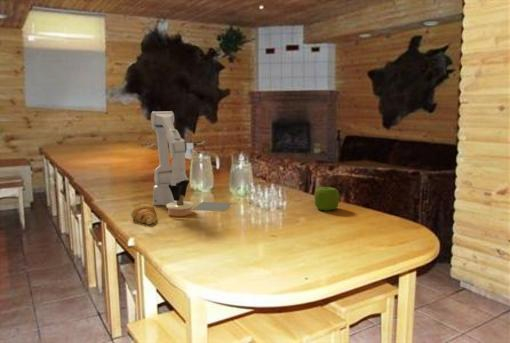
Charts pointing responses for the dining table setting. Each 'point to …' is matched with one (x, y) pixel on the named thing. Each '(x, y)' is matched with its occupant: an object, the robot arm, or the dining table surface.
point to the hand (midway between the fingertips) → (179, 198)
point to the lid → (180, 204)
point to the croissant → (144, 213)
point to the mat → (212, 206)
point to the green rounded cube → (326, 198)
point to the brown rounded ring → (180, 212)
